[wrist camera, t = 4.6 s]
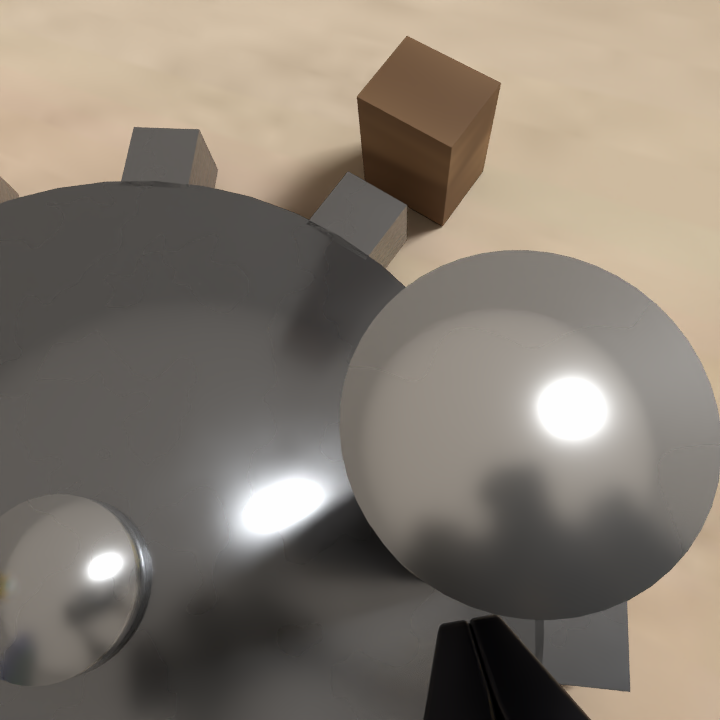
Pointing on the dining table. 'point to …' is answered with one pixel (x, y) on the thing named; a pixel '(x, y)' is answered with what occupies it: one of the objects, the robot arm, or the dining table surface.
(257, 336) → the sprocket
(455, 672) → the robot arm
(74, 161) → the dining table surface
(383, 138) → the brown rectangular block
